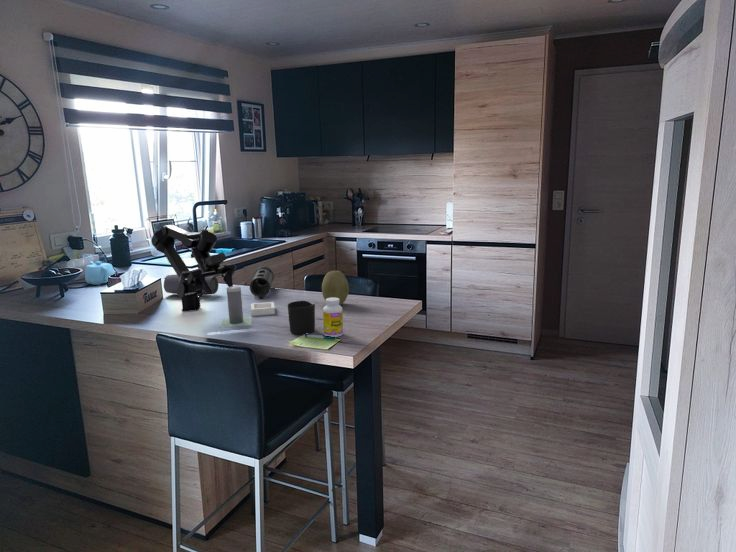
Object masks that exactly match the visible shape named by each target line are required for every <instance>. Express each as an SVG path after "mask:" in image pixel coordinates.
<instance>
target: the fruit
mask: <svg viewBox="0 0 736 552" xmlns="http://www.w3.org/2000/svg"><path fill="white" fill-rule="evenodd" d="M349 285H350V284H349V281H348V279H347V277H346V276H345V274H344V273H343V272H341V271H340V270H335V269H334V270H330V271H328V272H327V273H326V274H325V276H324V277H323V280H322V283H321V293H322V297H323V299H324V301H325V302H326V299H327V298H332V297H335V298H339V301H340V302H339V305H340V306H341V305H342V304H344V302H345V301H346V300H347V298H348V295H349V291H350V290H349V289H350V287H349Z"/></svg>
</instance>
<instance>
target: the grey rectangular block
mask: <svg viewBox="0 0 736 552" xmlns="http://www.w3.org/2000/svg"><path fill="white" fill-rule="evenodd" d="M226 296H227V298H226V299H227V309H228V318H229V322H230V323H231V324H238V323H242V322H243V317H244V311H243V310H244V309H243V298H242V288H241V286H237V285H233V286H232V287H229V286H227V287H226Z"/></svg>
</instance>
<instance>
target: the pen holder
mask: <svg viewBox="0 0 736 552" xmlns="http://www.w3.org/2000/svg"><path fill="white" fill-rule="evenodd" d="M287 311H288V313H287V314H288V322H289V323H288V324H289V332H290V333H291V334H292V335H295V336H304V335H303V334H306V333H310V334H313V333H314V332H315V329H316V313H315V312H316V304H315V303H314V304H312V303H311V302H310V301H307V300H295V301H291V302H289V303H288V304H287ZM312 332H313V333H312Z"/></svg>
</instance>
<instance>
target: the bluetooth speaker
mask: <svg viewBox="0 0 736 552" xmlns="http://www.w3.org/2000/svg"><path fill="white" fill-rule="evenodd" d="M205 280H206V282H207V284H208V286H209V287H210V289H211V292H212V294H211V295H216V293H217V292H218V291H219V290H218V289H219V281H218V278H217V275H216V276H211V277H205ZM178 287H179V277H178V275H177V274H168V275H165V277H164V280H163V289H164V291H165V292H166V293H167V294H176V295H177V292H176V290H177V289H178ZM202 295H203V296H204V295H206V296H207V295H210V294H209V293H207V292H206V291H204V290H202V293H201V294H198V296H202ZM203 296H202V297H203Z"/></svg>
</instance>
